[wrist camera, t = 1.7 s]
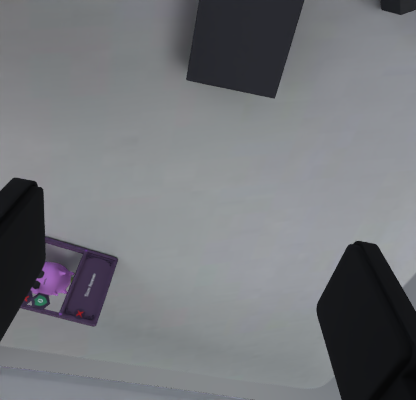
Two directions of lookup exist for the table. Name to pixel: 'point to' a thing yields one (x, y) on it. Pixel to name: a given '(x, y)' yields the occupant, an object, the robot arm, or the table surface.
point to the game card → (74, 286)
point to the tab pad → (243, 43)
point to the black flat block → (398, 6)
